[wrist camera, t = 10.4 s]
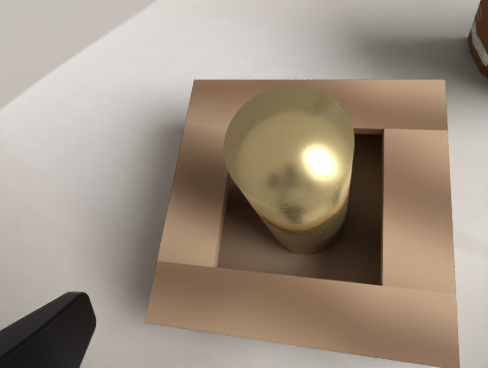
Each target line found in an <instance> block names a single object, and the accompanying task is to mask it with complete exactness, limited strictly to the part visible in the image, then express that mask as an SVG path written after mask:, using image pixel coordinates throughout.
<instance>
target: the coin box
mask: <svg viewBox="0 0 488 368" xmlns="http://www.w3.org/2000/svg"><path fill="white" fill-rule="evenodd" d="M293 85H295V86H305V87H310V88H313V89H316V90H319V91H321V92H323V93H325V94H327V95H329V96H330V97H332V98H333V99H334V100H335V101H337V102H338V103H339V104H340V105H341V107H342V108H343V109H344V110H345V112H346V113H347V115H348V117H349V119H350V121H351V124H352V127H353V131H354V154H353V162H352V171H351V180H350V189H349V198H348V207H347V216H346V223H345V228H344V231H343V233H342V235H341V236H340V238H339V239H338V241H337V242H336V243H335V244H334V245H333V246H331V247H330V248H328V249H327V250H325V251H323V252H320V253H316V254H309V255H306V254H298V253H295V252H292V251H290V250H288V249H286V248H285V247H283V246H282V245H281V244H280V243H279V242H278V241H277V240H276V238H275V237H274V236H273V234H272V233H271V232H270V230H269V229H268V227H267V226H266V225H265V223H264V222H263V220H262V219H261V218H260V216H259V215H258V214H257V212H256V211H255V209H254V208H253V207H252V205H251V204H250V202H249V201H248V200H247V198H246V197H245V196H244V194H243V193H242V191H241V190H240V189H239V187H238V186H237V184H236V183H235V182H234V180H233V179H232V177H231V176H230V174H229V172H228V170H227V167H226V164H225V159H224V148H223V146H224V138H225V134H226V131H227V128H228V126H229V124H230V122H231V120H232V118H233V117H234V115H235V114H236V113H237V111H238V110H239V109H240V108H241V107H242V106H243V105H244V104H245V103H246V102H248V101H249V100H250V99H252V98H253V97H255V96H256V95H258V94H260V93H262V92H264V91H267V90H269V89H273V88H276V87H282V86H293ZM144 323H148V324H155V325H161V326H168V327H175V328H181V329H188V330H195V331H201V332H208V333H215V334H222V335H228V336H235V337H242V338H248V339H255V340H262V341H268V342H275V343H282V344H288V345H295V346H302V347H308V348H315V349H322V350H328V351H335V352H342V353H348V354H355V355H362V356H368V357H375V358H382V359H388V360H395V361H402V362H409V363H415V364H422V365H429V366H435V367H442V368H460V365H459V345H458V325H457V305H456V285H455V266H454V246H453V226H452V206H451V186H450V166H449V147H448V127H447V107H446V87H445V80H194V83H193V88H192V92H191V97H190V102H189V107H188V112H187V117H186V122H185V127H184V131H183V136H182V141H181V146H180V151H179V156H178V161H177V166H176V171H175V175H174V180H173V185H172V190H171V195H170V200H169V205H168V210H167V214H166V219H165V224H164V229H163V234H162V239H161V244H160V249H159V253H158V258H157V263H156V268H155V273H154V278H153V283H152V288H151V292H150V297H149V302H148V307H147V312H146V317H145V322H144Z"/></svg>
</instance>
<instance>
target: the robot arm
mask: <svg viewBox="0 0 488 368" xmlns="http://www.w3.org/2000/svg"><path fill="white" fill-rule="evenodd" d="M95 327H96V317H95V314H94V311H93V308H92V305H91V302H90V299H89V296H88V295H87V294H86V293H85V292H67V293H65V294H64V295H62V296H60V297H58V298H57V299H55V300H53V301H51V302H50V303H48V304H46V305H44V306H43V307H41V308H39V309H37V310H36V311H34V312H32V313H30V314H29V315H27V316H25V317H23V318H22V319H20V320H18V321H16V322H15V323H13V324H11V325H9V326H8V327H6V328H4V329H2V330H1V331H0V368H80V365H81V363H82V360H83V358H84V355H85V353H86V350H87V348H88V345H89V343H90V340H91V338H92V336H93V333H94V331H95Z"/></svg>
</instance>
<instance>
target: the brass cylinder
mask: <svg viewBox="0 0 488 368" xmlns="http://www.w3.org/2000/svg"><path fill="white" fill-rule="evenodd" d="M223 148H224V159H225V164H226V167H227V170H228V172H229V174H230V176H231V177H232V179H233V180H234V182H235V183H236V184H237V186H238V187H239V189H240V190H241V191H242V193H243V194H244V196H245V197H246V198H247V200H248V201H249V202H250V204H251V205H252V207H253V208H254V209H255V211H256V212H257V214H258V215H259V216H260V218H261V219H262V220H263V222H264V223H265V225H266V226H267V227H268V229H269V230H270V232H271V233H272V234H273V236H274V237H275V238H276V240H277V241H278V242H279V243H280V244H281V245H282V246H283V247H285V248H286V249H288V250H290V251H292V252H295V253H298V254H306V255H309V254H316V253H320V252H323V251H325V250H327V249H328V248H330V247H331V246H333V245H334V244H335V243H336V242H337V241H338V239H339V238H340V236H341V235H342V233H343V231H344V228H345V223H346V216H347V207H348V198H349V189H350V180H351V171H352V162H353V154H354V131H353V127H352V124H351V121H350V119H349V117H348V115H347V113H346V112H345V110H344V109H343V108H342V107H341V105H340V104H339V103H338V102H337V101H335V100H334V99H333V98H332V97H330V96H329V95H327V94H325V93H323V92H321V91H319V90H316V89H313V88H310V87H305V86H295V85H293V86H282V87H276V88H273V89H269V90H267V91H264V92H262V93H260V94H258V95H256V96H255V97H253V98H252V99H250V100H249V101H248V102H246V103H245V104H244V105H243V106H242V107H241V108H240V109H239V110H238V111H237V113H236V114H235V115H234V117H233V118H232V120H231V122H230V124H229V126H228V128H227V131H226V134H225V138H224V146H223Z"/></svg>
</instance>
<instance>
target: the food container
mask: <svg viewBox="0 0 488 368" xmlns="http://www.w3.org/2000/svg"><path fill="white" fill-rule="evenodd" d="M468 39H469V48H470V53H471V55H472V57H473V59H474V61H475V63H476V65H477V67H478V69H479V71H480V72H481V73H482V74H483V75H484V76H485V77H486V78H487V79H488V0H481V1H480V4H479V7H478V10H477V13H476V16H475V19H474V22H473V25H472V28H471V31H470V34H469V37H468Z"/></svg>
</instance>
